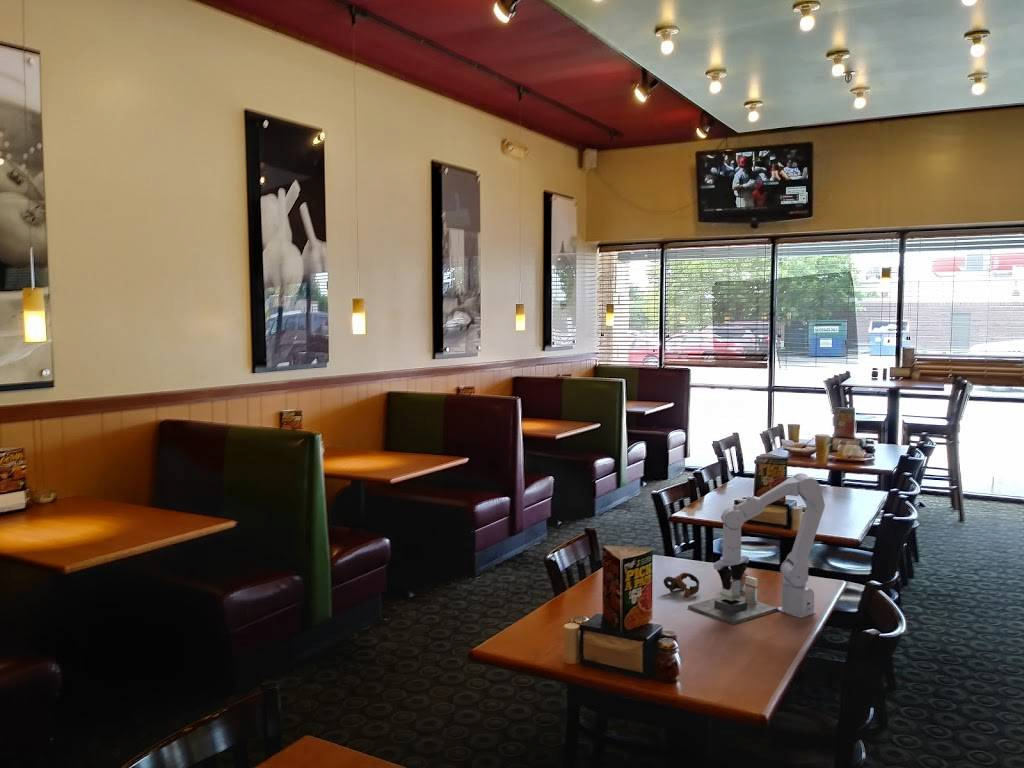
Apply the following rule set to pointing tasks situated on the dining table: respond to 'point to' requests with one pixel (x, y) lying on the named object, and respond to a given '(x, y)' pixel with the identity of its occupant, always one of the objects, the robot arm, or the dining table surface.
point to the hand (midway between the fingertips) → (731, 587)
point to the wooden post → (732, 590)
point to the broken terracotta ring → (682, 584)
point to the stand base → (735, 606)
